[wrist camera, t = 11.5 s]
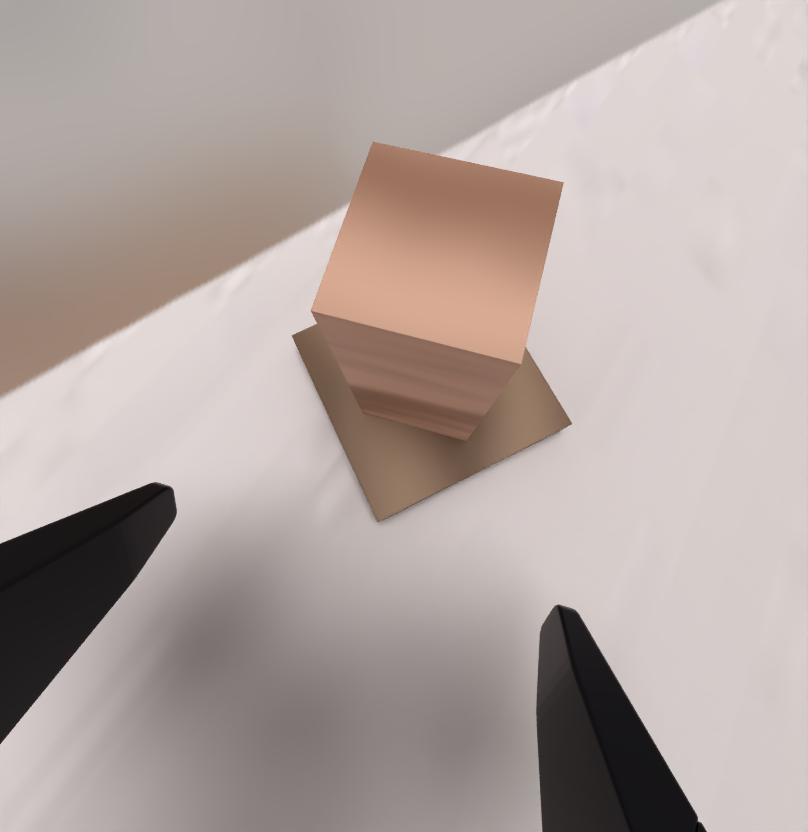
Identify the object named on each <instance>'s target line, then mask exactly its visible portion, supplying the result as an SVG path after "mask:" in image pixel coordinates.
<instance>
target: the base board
mask: <svg viewBox="0 0 808 832" xmlns="http://www.w3.org/2000/svg"><path fill="white" fill-rule="evenodd" d="M292 337H293V339H294V342H295V344H296V346H297V348H298V350H299V352H300V355H301V357H302V359H303V361H304V363H305V366H306V368H307V370H308V372H309V374H310V376H311V379H312V381H313V383H314V385H315V387H316V389H317V392H318V394H319V396H320V398H321V400H322V402H323V405H324V407H325V409H326V411H327V413H328V415H329V418H330V420H331V422H332V424H333V426H334V428H335V431H336V433H337V435H338V437H339V439H340V442H341V444H342V446H343V448H344V450H345V452H346V455H347V457H348V459H349V461H350V463H351V465H352V468H353V470H354V472H355V474H356V476H357V478H358V481H359V483H360V485H361V487H362V489H363V491H364V494H365V496H366V498H367V500H368V502H369V505H370V507H371V509H372V511H373V513H374V515H375V518H376V520H377V522H380V521H382V520H384V519H386V518H388V517H390V516H392V515H394V514H396V513H398V512H400V511H402V510H404V509H406V508H408V507H410V506H412V505H414V504H416V503H418V502H420V501H422V500H424V499H426V498H428V497H430V496H432V495H434V494H436V493H437V492H439V491H441V490H443V489H445V488H447V487H449V486H451V485H453V484H455V483H457V482H459V481H461V480H463V479H465V478H467V477H469V476H471V475H473V474H475V473H477V472H479V471H481V470H483V469H485V468H487V467H489V466H491V465H493V464H495V463H497V462H499V461H501V460H503V459H505V458H507V457H509V456H511V455H513V454H515V453H517V452H519V451H521V450H523V449H525V448H527V447H529V446H531V445H533V444H535V443H537V442H539V441H541V440H542V439H544V438H546V437H548V436H550V435H552V434H554V433H556V432H558V431H560V430H562V429H564V428H566V427H567V426H569V425H571V424H572V423H571V421H570V419H569V418H568V416H567V414H566V413H565V411H564V409H563V408H562V406H561V405H560V403H559V401H558V400H557V398H556V396H555V395H554V393H553V391H552V390H551V388H550V386H549V385H548V383H547V381H546V380H545V378H544V377H543V375H542V373H541V372H540V370H539V368H538V367H537V365H536V363H535V362H534V360H533V358H532V357H531V355H530V353H529V352H528V350H527V349H526V347H525V350H524V355H523V359H522V363H521V365H520V367H519V368H518V369H517V371H516V372H515V374H514V375H513V376H512V378H511V379H510V381H509V382H508V383H507V385H506V386H505V388H504V389H503V390H502V392H501V393H500V394H499V396H498V397H497V399H496V400H495V401H494V403H493V404H492V406H491V407H490V408H489V410H488V411H487V413H486V414H485V415H484V417H483V418H482V420H481V421H480V422H479V424H478V425H477V427H476V428H475V429H474V431H473V432H472V434H471V435H470V436H469V438H468V439H467V440H466V441H463V440H460V439H456V438H452V437H449V436H445V435H441V434H438V433H434V432H430V431H427V430H423V429H419V428H416V427H412V426H408V425H405V424H401V423H398V422H394V421H390V420H387V419H383V418H379V417H376V416H372V415H368V414H365V413H363V412H362V410H361V408H360V406H359V404H358V403H357V401H356V399H355V397H354V395H353V393H352V391H351V389H350V387H349V385H348V383H347V381H346V379H345V377H344V375H343V373H342V371H341V369H340V367H339V365H338V363H337V361H336V359H335V357H334V355H333V353H332V351H331V350H330V348H329V346H328V344H327V342H326V340H325V338H324V336H323V334H322V332H321V330H320V328H319V326H318V324H316V325H314V326H312V327H309V328H307V329H305V330H303V331H301V332H298V333H296V334H294V335H292Z"/></svg>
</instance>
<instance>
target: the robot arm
mask: <svg viewBox="0 0 808 832" xmlns="http://www.w3.org/2000/svg"><path fill="white" fill-rule="evenodd" d="M176 513H177V508H176V502H175V496H174V491H173V489H172V487H170V486H168V485H164V484H161V483H157V482H154V483H150V484H147V485H145V486H142V487H140V488H137V489H135V490H132V491H130V492H127V493H125V494H123V495H120V496H118V497H115V498H113V499H110V500H108V501H105V502H103V503H100V504H98V505H95V506H93V507H90V508H88V509H85V510H83V511H80V512H78V513H75V514H73V515H70V516H68V517H65V518H63V519H60V520H58V521H55V522H53V523H50V524H48V525H45V526H43V527H40V528H38V529H35V530H33V531H30V532H28V533H26V534H23V535H21V536H18V537H16V538H13V539H11V540H8V541H6V542H3V543H1V544H0V744H1V743H2V741H3V740H4V739H5V738H6V737H7V735H8V734H9V733H10V732H11V730H12V729H13V728H14V727H15V726H16V724H17V723H18V722H19V721H20V719H21V718H22V717H23V716H24V714H25V713H26V712H27V711H28V710H29V708H30V707H31V706H32V705H33V703H34V702H35V701H36V700H37V699H38V697H39V696H40V695H41V694H42V692H43V691H44V690H45V689H46V688H47V686H48V685H49V684H50V683H51V681H52V680H53V679H54V678H55V676H56V675H57V674H58V673H59V672H60V670H61V669H62V668H63V667H64V665H65V664H66V663H67V662H68V661H69V659H70V658H71V657H72V656H73V654H74V653H75V652H76V651H77V650H78V648H79V647H80V646H81V645H82V643H83V642H84V641H85V640H86V638H87V637H88V636H89V635H90V634H91V632H92V631H93V630H94V629H95V627H96V626H97V625H98V624H99V623H100V621H101V620H102V619H103V618H104V616H105V615H106V614H107V613H108V612H109V610H110V609H111V608H112V607H113V605H114V604H115V603H116V602H117V600H118V599H119V598H120V597H121V596H122V594H123V593H124V592H125V591H126V589H127V588H128V587H129V586H130V584H131V583H132V582H133V581H134V579H135V578H136V577H137V575H138V574H139V572H140V571H141V569H142V568H143V566H144V565H145V563H146V562H147V560H148V559H149V557H150V556H151V555H152V553H153V552H154V550H155V549H156V547H157V546H158V544H159V543H160V541H161V540H162V538H163V537H164V535H165V534H166V532H167V531H168V529H169V528H170V526H171V525H172V523H173V521H174V520H175V517H176ZM536 716H537V738H538V757H539V775H540V794H541V813H542V831H543V832H707V831H706V830H705V828H704V826H703V824H702V823H701V822H699V821H698V817H697V815H696V813H695V811H694V809H693V808H692V806H691V804H690V803H689V801H688V799H687V797H686V796H685V794H684V792H683V791H682V789H681V787H680V786H679V784H678V782H677V780H676V779H675V777H674V775H673V774H672V772H671V770H670V769H669V767H668V765H667V763H666V762H665V760H664V758H663V757H662V755H661V753H660V751H659V750H658V748H657V746H656V745H655V743H654V741H653V740H652V738H651V736H650V734H649V733H648V731H647V729H646V728H645V726H644V724H643V722H642V721H641V719H640V717H639V716H638V714H637V712H636V711H635V709H634V707H633V705H632V704H631V702H630V700H629V699H628V697H627V695H626V694H625V692H624V690H623V688H622V687H621V685H620V683H619V682H618V680H617V678H616V676H615V675H614V673H613V671H612V670H611V668H610V666H609V665H608V663H607V661H606V659H605V658H604V656H603V654H602V653H601V651H600V649H599V647H598V646H597V644H596V642H595V641H594V639H593V637H592V636H591V634H590V632H589V630H588V629H587V627H586V625H585V624H584V622H583V620H582V619H581V617H580V615H579V614H578V612H577V611H576V610H574V609H572V608H569V607H566V606H562V605H556V606H554V608H553V609H552V611H551V612H550V614H549V615H548V617H547V618H546V620H545V621H544V623H543V625H542V627H541V631H540V643H539V663H538V682H537V706H536Z"/></svg>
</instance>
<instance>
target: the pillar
mask: <svg viewBox="0 0 808 832" xmlns="http://www.w3.org/2000/svg"><path fill="white" fill-rule="evenodd" d="M563 183H564V182H559V181H554V180H550V179H545V178H540V177H536V176H531V175H526V174H522V173H517V172H512V171H508V170H503V169H498V168H493V167H489V166H484V165H479V164H475V163H470V162H465V161H461V160H456V159H451V158H447V157H442V156H437V155H432V154H428V153H422V152H418V151H414V150H409V149H404V148H400V147H395V146H390V145H386V144H380V143H376V142H373V143H372V145H371V148H370V151H369V154H368V156H367V159H366V162H365V165H364V167H363V170H362V173H361V175H360V178H359V181H358V184H357V186H356V189H355V192H354V194H353V197H352V200H351V202H350V205H349V208H348V211H347V213H346V216H345V219H344V221H343V224H342V227H341V230H340V232H339V235H338V238H337V241H336V243H335V246H334V249H333V251H332V254H331V257H330V260H329V262H328V265H327V268H326V270H325V273H324V276H323V279H322V281H321V284H320V287H319V289H318V292H317V295H316V298H315V300H314V303H313V306H312V308H311V312H312V314H313V316H314V318H315V320H316V322H317V324H318V326H319V328H320V330H321V332H322V334H323V336H324V338H325V340H326V342H327V344H328V346H329V348H330V350H331V351H332V353H333V355H334V357H335V359H336V361H337V363H338V365H339V367H340V369H341V371H342V373H343V375H344V377H345V379H346V381H347V383H348V385H349V387H350V389H351V391H352V393H353V395H354V397H355V399H356V401H357V403H358V404H359V406H360V408H361V410H362V412H363V413H365V414H368V415H372V416H376V417H379V418H383V419H387V420H390V421H394V422H398V423H401V424H405V425H408V426H412V427H416V428H419V429H423V430H427V431H430V432H434V433H438V434H441V435H445V436H449V437H452V438H456V439H460V440H463V441H466V440H467V439H468V438H469V436H470V435H471V434H472V432H473V431H474V429H475V428H476V427H477V425H478V424H479V422H480V421H481V420H482V418H483V417H484V415H485V414H486V413H487V411H488V410H489V408H490V407H491V406H492V404H493V403H494V401H495V400H496V399H497V397H498V396H499V394H500V393H501V392H502V390H503V389H504V388H505V386H506V385H507V383H508V382H509V381H510V379H511V378H512V376H513V375H514V374H515V372H516V371H517V369H518V368H519V367H520V365H521V363H522V359H523V355H524V350H525V346H526V342H527V337H528V333H529V329H530V325H531V320H532V316H533V312H534V307H535V303H536V299H537V295H538V290H539V286H540V282H541V277H542V273H543V269H544V264H545V260H546V256H547V252H548V247H549V243H550V239H551V234H552V230H553V226H554V222H555V217H556V213H557V209H558V204H559V200H560V196H561V192H562V187H563Z"/></svg>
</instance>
